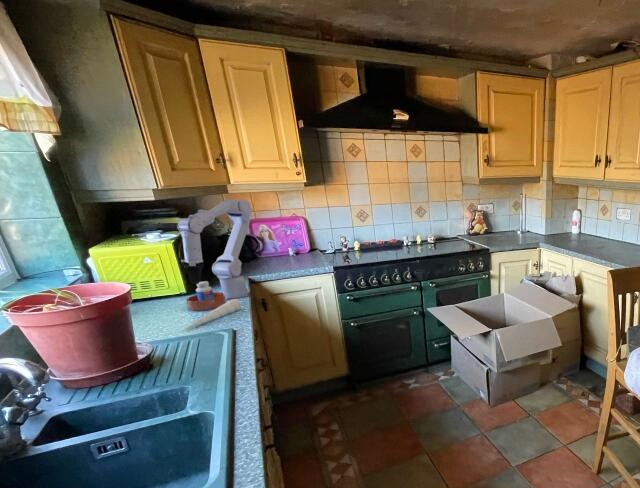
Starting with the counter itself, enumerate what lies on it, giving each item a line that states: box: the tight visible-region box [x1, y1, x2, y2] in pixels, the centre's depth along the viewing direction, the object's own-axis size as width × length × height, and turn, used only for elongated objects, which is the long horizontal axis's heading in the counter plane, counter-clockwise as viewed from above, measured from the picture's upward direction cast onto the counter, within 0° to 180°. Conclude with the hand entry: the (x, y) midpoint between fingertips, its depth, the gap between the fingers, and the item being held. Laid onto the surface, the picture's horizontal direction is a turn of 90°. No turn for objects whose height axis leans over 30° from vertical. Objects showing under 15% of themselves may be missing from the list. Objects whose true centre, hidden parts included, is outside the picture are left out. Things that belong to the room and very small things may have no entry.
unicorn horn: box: [185, 298, 242, 330], centre depth 161 cm, size 5×24×5 cm, turn 165°
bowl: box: [186, 291, 227, 312], centre depth 175 cm, size 13×13×4 cm
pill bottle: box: [195, 280, 214, 301], centre depth 174 cm, size 6×5×10 cm
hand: (196, 282), depth 171 cm, fingers open, 7 cm apart
